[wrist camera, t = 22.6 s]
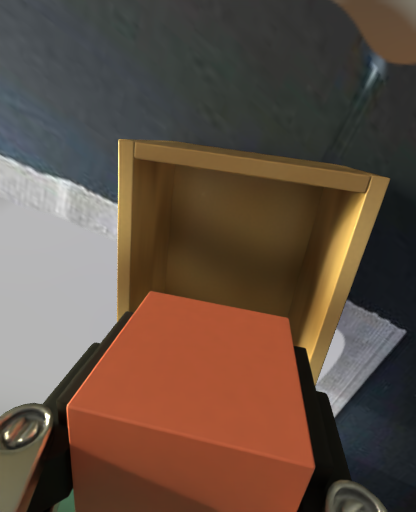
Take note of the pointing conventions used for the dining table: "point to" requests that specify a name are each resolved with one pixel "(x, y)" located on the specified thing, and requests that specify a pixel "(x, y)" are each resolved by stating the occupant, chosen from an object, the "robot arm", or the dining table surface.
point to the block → (192, 414)
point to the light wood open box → (243, 233)
